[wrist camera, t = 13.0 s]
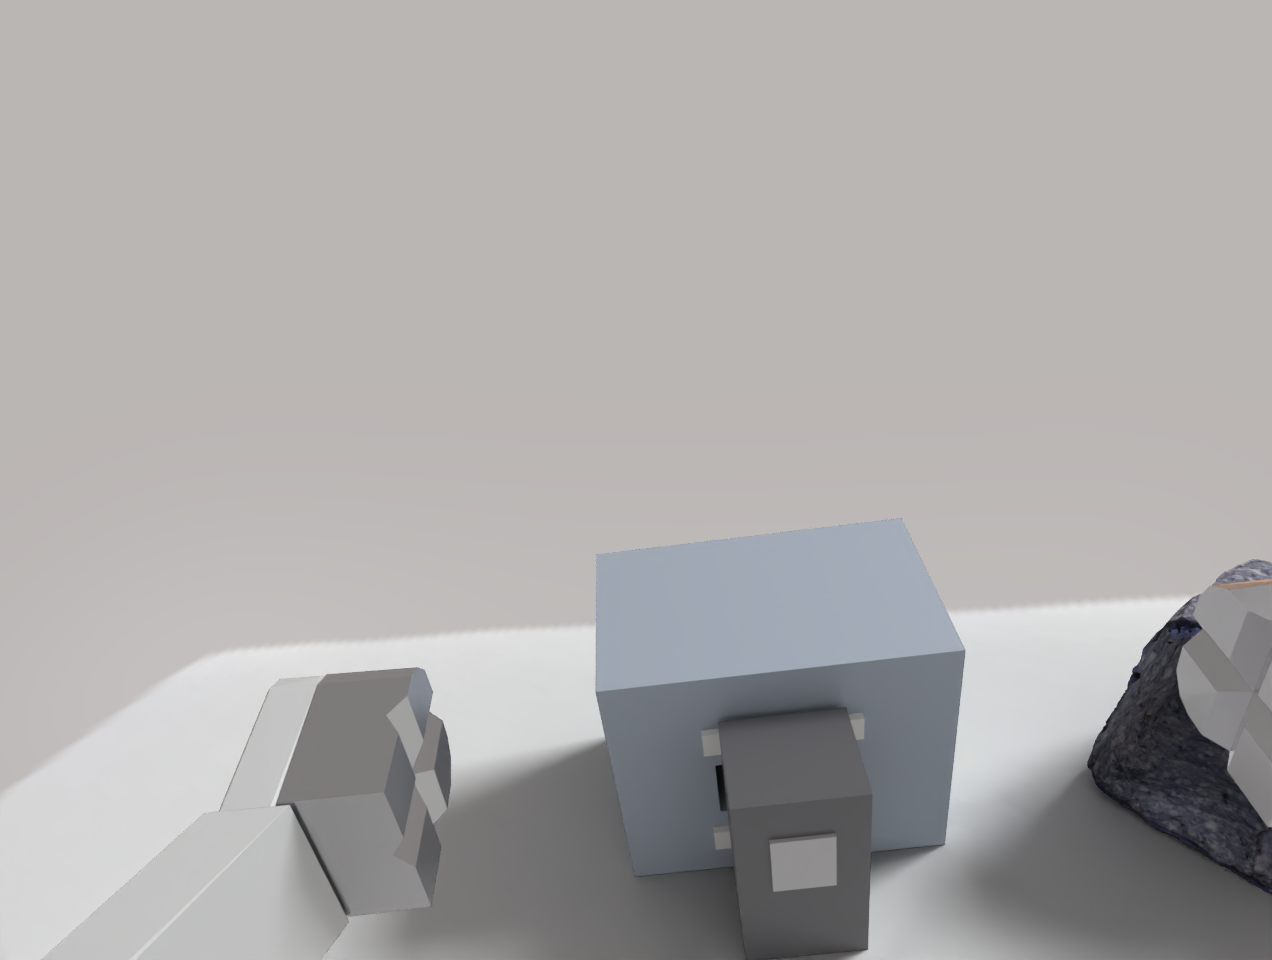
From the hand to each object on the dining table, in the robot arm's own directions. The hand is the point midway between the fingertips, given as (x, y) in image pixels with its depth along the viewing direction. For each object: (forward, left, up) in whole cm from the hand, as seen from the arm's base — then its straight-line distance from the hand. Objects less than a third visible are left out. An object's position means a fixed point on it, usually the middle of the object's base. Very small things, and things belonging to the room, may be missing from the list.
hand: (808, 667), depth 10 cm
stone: (+22, +19, -30) cm, 42 cm away
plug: (+2, +17, -30) cm, 35 cm away
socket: (+2, +22, -30) cm, 37 cm away
